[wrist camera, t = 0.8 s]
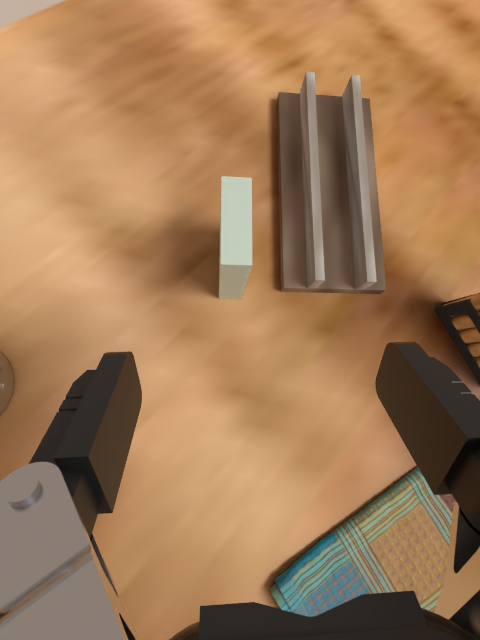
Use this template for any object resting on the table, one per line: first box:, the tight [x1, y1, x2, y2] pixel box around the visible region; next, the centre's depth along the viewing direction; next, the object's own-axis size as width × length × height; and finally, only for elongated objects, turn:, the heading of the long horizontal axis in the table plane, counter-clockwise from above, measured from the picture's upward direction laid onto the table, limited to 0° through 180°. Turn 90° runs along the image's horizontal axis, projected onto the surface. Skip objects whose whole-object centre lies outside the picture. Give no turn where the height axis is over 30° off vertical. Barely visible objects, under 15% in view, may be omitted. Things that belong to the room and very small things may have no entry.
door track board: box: [277, 72, 386, 294], centre depth 38 cm, size 12×26×4 cm, turn 0°
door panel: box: [219, 176, 252, 299], centre depth 32 cm, size 3×8×11 cm, turn 0°
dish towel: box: [270, 466, 456, 617], centre depth 32 cm, size 17×23×2 cm
